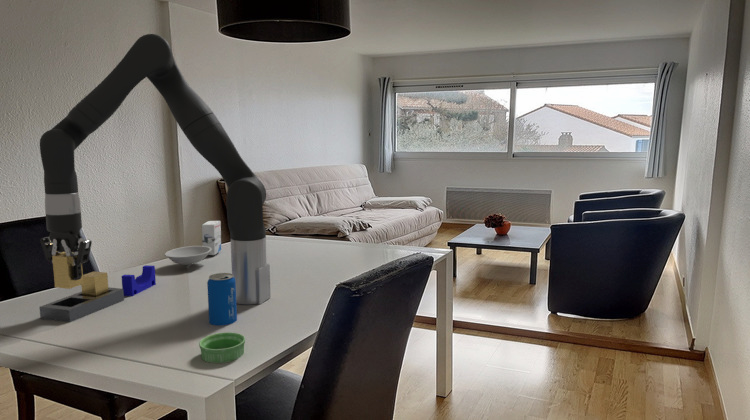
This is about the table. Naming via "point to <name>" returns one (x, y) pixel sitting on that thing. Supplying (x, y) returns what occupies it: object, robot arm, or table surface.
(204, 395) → the table surface
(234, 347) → the ramekin
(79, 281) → the wooden toy block
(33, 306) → the table surface
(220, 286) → the beverage can
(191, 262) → the dish
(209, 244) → the ink box
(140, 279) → the cable clip
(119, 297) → the grey flat open box
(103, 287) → the beige cube
